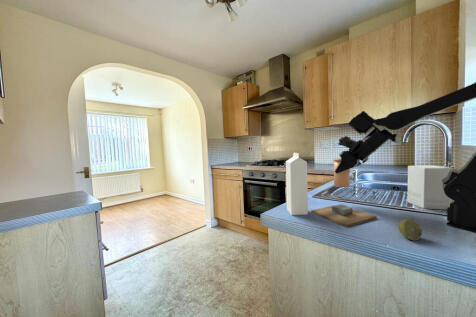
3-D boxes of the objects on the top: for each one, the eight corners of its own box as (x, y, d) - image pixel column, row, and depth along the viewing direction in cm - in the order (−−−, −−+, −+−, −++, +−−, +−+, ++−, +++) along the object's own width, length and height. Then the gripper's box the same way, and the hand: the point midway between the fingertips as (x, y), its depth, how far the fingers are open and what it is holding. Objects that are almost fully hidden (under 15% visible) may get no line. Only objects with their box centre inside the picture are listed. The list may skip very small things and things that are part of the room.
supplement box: (453, 210, 66) (455, 167, 65) (423, 209, 68) (424, 168, 67) (432, 202, 75) (433, 164, 74) (406, 201, 76) (407, 165, 75)
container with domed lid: (353, 186, 72) (353, 159, 72) (338, 187, 72) (338, 159, 72) (344, 184, 78) (344, 158, 77) (330, 184, 78) (330, 158, 77)
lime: (421, 237, 48) (422, 218, 48) (421, 244, 45) (421, 224, 45) (399, 232, 51) (399, 214, 51) (396, 238, 48) (397, 219, 48)
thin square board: (376, 218, 61) (376, 209, 61) (346, 227, 56) (346, 217, 55) (338, 206, 74) (338, 199, 74) (311, 212, 68) (311, 204, 68)
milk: (291, 215, 67) (289, 153, 65) (286, 209, 73) (285, 152, 71) (308, 214, 67) (307, 152, 65) (302, 208, 73) (301, 152, 71)
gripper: (359, 129, 78) (331, 156, 86) (345, 127, 64) (314, 159, 73) (382, 148, 73) (350, 174, 81) (373, 150, 59) (336, 181, 68)
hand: (338, 171), depth 76 cm, fingers closed on container with domed lid, 5 cm apart
